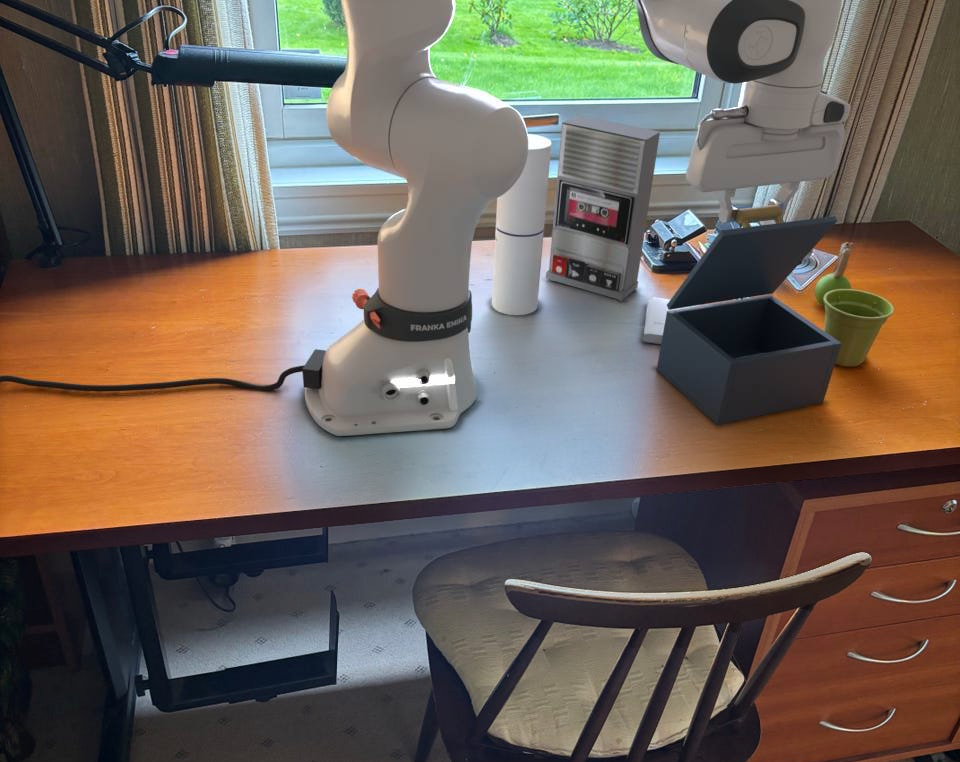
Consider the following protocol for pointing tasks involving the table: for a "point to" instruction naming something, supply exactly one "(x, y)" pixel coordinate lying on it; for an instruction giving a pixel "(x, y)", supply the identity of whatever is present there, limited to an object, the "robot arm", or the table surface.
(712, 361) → the chest
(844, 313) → the plant pot
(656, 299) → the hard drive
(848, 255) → the green maraca
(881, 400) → the table surface
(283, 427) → the table surface
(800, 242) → the lid
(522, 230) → the cylindrical container
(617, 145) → the cassette tape recorder
